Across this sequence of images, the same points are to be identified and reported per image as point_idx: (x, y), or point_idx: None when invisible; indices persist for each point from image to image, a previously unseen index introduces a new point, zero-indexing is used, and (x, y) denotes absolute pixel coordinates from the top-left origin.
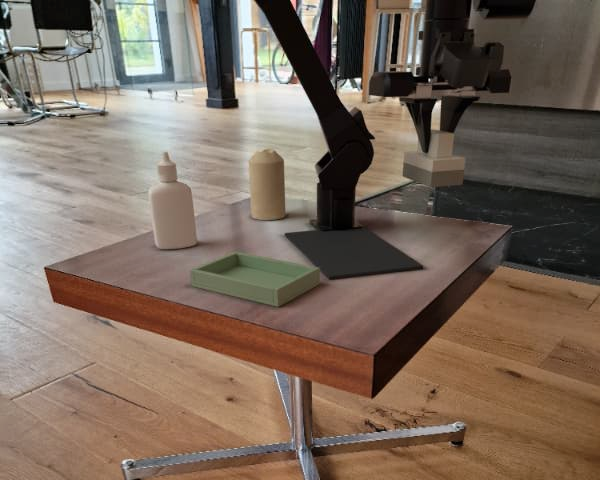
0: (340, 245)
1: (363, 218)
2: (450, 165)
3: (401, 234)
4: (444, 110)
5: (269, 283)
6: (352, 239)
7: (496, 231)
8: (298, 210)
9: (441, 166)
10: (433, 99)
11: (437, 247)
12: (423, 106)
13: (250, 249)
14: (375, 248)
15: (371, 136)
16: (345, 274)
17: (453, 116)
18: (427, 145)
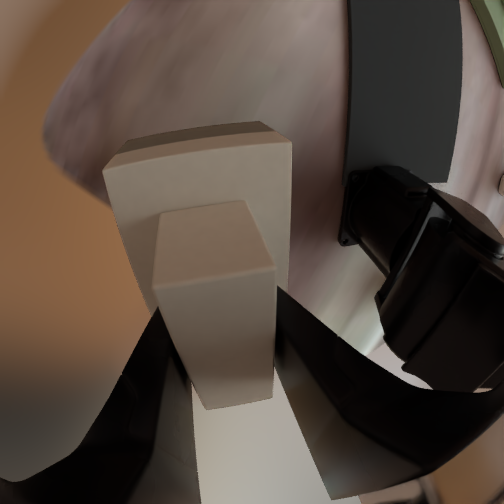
0: (422, 82)
1: (304, 252)
2: (185, 145)
3: (288, 118)
4: (189, 470)
5: (495, 16)
6: (396, 103)
7: (64, 105)
8: (365, 305)
9: (235, 139)
10: (460, 447)
11: (256, 6)
12: (455, 396)
13: (483, 139)
14: (384, 36)
15: (487, 268)
16: None
17: (151, 422)
18: None
